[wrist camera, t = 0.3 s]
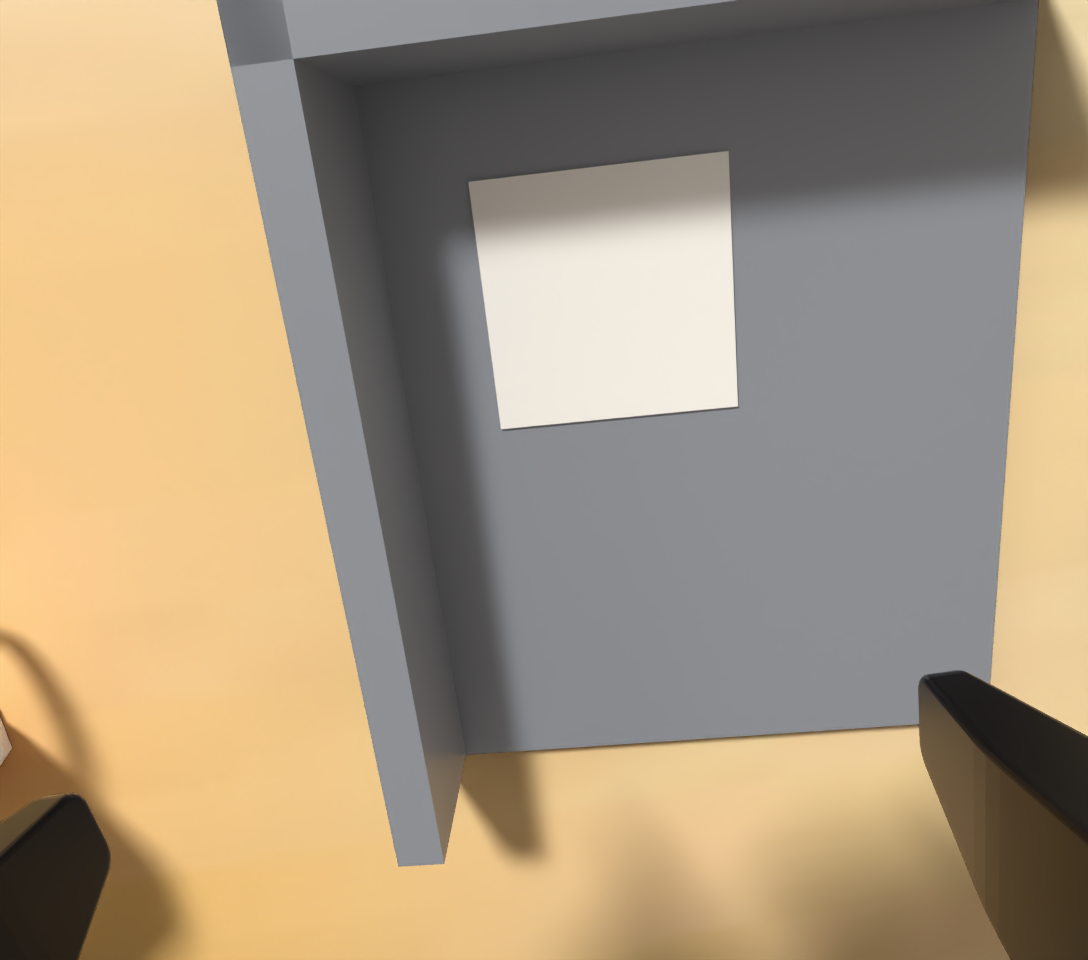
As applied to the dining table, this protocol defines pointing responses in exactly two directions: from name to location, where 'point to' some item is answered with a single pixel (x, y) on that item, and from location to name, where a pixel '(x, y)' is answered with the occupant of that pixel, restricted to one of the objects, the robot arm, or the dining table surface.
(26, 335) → the dining table surface
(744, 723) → the tray
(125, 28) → the dining table surface
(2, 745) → the cup
